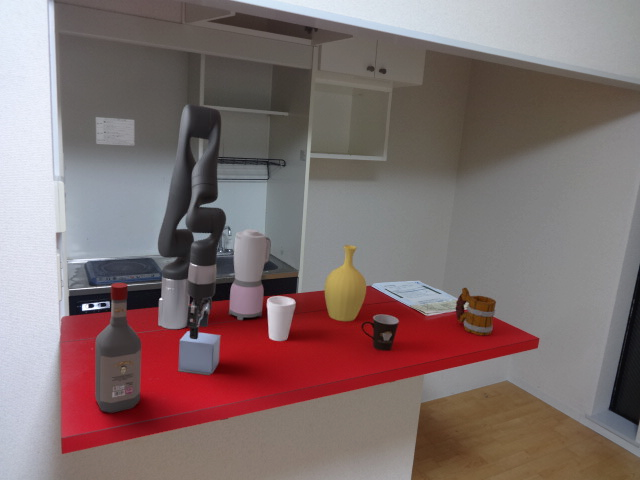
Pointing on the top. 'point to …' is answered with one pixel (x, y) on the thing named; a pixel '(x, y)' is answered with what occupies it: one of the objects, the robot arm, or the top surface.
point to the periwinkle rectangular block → (199, 352)
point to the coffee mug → (383, 331)
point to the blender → (248, 273)
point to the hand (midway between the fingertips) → (198, 332)
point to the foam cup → (280, 316)
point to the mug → (476, 313)
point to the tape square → (194, 372)
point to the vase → (345, 289)
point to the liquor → (117, 358)
